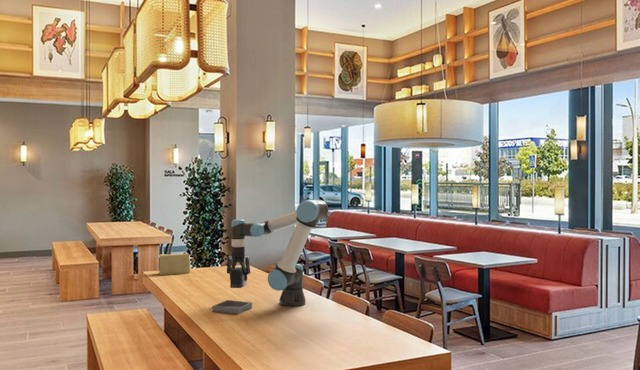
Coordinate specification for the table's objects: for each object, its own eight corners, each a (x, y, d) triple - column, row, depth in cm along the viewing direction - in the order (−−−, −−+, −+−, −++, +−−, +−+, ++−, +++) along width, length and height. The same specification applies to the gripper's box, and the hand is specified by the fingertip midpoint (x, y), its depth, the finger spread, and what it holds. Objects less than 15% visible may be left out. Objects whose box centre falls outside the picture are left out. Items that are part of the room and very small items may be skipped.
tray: (251, 307, 288) (252, 302, 288) (237, 314, 274) (238, 308, 274) (227, 305, 294) (227, 299, 294) (212, 311, 279) (212, 305, 279)
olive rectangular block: (189, 272, 400) (189, 252, 400) (190, 274, 391) (190, 254, 391) (159, 273, 393) (159, 253, 393) (159, 275, 383) (159, 255, 383)
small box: (240, 288, 295) (240, 270, 295) (229, 288, 296) (229, 269, 296) (247, 285, 305) (246, 267, 305) (236, 284, 306) (236, 267, 307)
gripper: (256, 246, 301) (256, 285, 301) (226, 245, 308) (227, 283, 308) (250, 247, 294) (250, 288, 294) (219, 246, 301) (220, 286, 301)
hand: (238, 285), depth 301 cm, fingers closed on small box, 7 cm apart
